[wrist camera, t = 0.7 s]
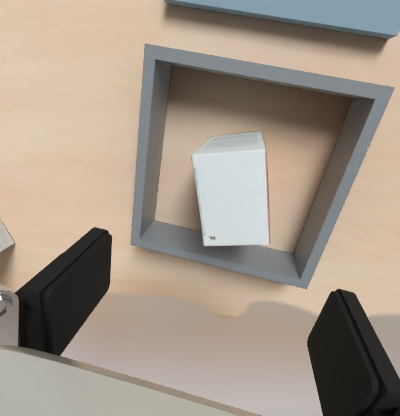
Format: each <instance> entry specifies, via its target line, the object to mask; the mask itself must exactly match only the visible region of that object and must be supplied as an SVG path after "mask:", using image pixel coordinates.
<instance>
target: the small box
mask: <svg viewBox="0 0 400 416" xmlns="http://www.w3.org/2000/svg"><path fill="white" fill-rule="evenodd" d="M191 160H192V165H193V170H194V176H195V182H196V189H197V196H198V203H199V210H200V218H201V226H202V236H203V245H204V246H233V245H269V244H270V225H269V191H268V170H267V151H266V146H265V143H264V140H263V136H262V132H261V131H256V132H245V133H236V134H227V135H218V136H211V137H210V138H209V139H208V140H207V141H206V142H205V143H204V144H202V145H201V146H200V147H199V148H198V149H197V150H196V151H195V152H194V153H193V154H192V155H191Z"/></svg>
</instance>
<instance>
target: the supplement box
mask: <svg viewBox="0 0 400 416" xmlns="http://www.w3.org/2000/svg"><path fill="white" fill-rule="evenodd" d="M13 244H14V241H13V239H12V238H11V236H10V234H9V233H8V231H7V230H6V228H5V226H4V225H3V223H2V221H1V220H0V252H1V251H3V250H5V249H6V248H8V247H9V246H11V245H13Z"/></svg>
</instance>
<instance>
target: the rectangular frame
mask: <svg viewBox="0 0 400 416" xmlns="http://www.w3.org/2000/svg"><path fill="white" fill-rule="evenodd" d="M171 65H173V66H179V67H184V68H190V69H195V70H201V71H206V72H212V73H217V74H223V75H228V76H234V77H239V78H245V79H250V80H256V81H261V82H267V83H272V84H278V85H283V86H289V87H294V88H300V89H305V90H311V91H316V92H321V93H327V94H332V95H338V96H343V97H349V98H353V100H352V103H351V105H350V108H349V111H348V113H347V116H346V119H345V121H344V124H343V126H342V129H341V132H340V134H339V137H338V139H337V142H336V145H335V147H334V150H333V153H332V155H331V158H330V160H329V163H328V166H327V168H326V171H325V173H324V176H323V179H322V181H321V184H320V187H319V189H318V192H317V194H316V197H315V200H314V202H313V205H312V207H311V210H310V213H309V215H308V218H307V221H306V223H305V226H304V228H303V231H302V234H301V236H300V239H299V241H298V244H297V247H296V249H295V252H294V254H292V253H287V252H283V251H279V250H275V249H271V248H267V247H262V246H258V245H233V246H204V245H203V236H202V232H200V231H196V230H192V229H188V228H184V227H180V226H175V225H171V224H167V223H163V222H159V221H155V220H154V219H155V210H156V201H157V192H158V183H159V174H160V165H161V156H162V146H163V137H164V128H165V119H166V110H167V101H168V92H169V83H170V74H171ZM393 90H394V87H389V86H383V85H377V84H372V83H366V82H360V81H355V80H349V79H343V78H338V77H332V76H326V75H321V74H315V73H309V72H304V71H298V70H292V69H287V68H281V67H275V66H270V65H264V64H258V63H252V62H247V61H241V60H235V59H230V58H224V57H218V56H213V55H207V54H201V53H196V52H190V51H184V50H179V49H173V48H167V47H162V46H156V45H150V44H145V49H144V63H143V77H142V91H141V105H140V119H139V133H138V148H137V162H136V176H135V190H134V204H133V218H132V232H131V245H133V246H137V247H141V248H145V249H149V250H153V251H157V252H161V253H165V254H169V255H173V256H177V257H181V258H185V259H189V260H193V261H197V262H201V263H205V264H209V265H213V266H217V267H220V268H224V269H228V270H232V271H236V272H240V273H244V274H248V275H252V276H256V277H260V278H264V279H268V280H272V281H276V282H280V283H284V284H288V285H292V286H296V287H300V288H304V289H307V287H308V285H309V283H310V281H311V278H312V276H313V274H314V271H315V269H316V267H317V265H318V262H319V260H320V258H321V255H322V253H323V251H324V249H325V246H326V244H327V242H328V239H329V237H330V235H331V232H332V230H333V228H334V226H335V223H336V221H337V219H338V216H339V214H340V212H341V210H342V207H343V205H344V203H345V200H346V198H347V196H348V194H349V191H350V189H351V187H352V184H353V182H354V180H355V178H356V175H357V173H358V171H359V168H360V166H361V164H362V161H363V159H364V157H365V155H366V152H367V150H368V148H369V145H370V143H371V141H372V139H373V136H374V134H375V132H376V129H377V127H378V125H379V123H380V120H381V118H382V116H383V113H384V111H385V109H386V106H387V104H388V102H389V100H390V97H391V95H392V93H393Z"/></svg>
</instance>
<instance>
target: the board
mask: <svg viewBox="0 0 400 416" xmlns="http://www.w3.org/2000/svg"><path fill="white" fill-rule="evenodd" d="M165 1H166V2H167V3H168V4H172V5H179V6H185V7H191V8H197V9H204V10H210V11H216V12H222V13H229V14H235V15H241V16H247V17H254V18H260V19H266V20H272V21H279V22H285V23H291V24H297V25H304V26H310V27H316V28H322V29H329V30H335V31H341V32H347V33H354V34H360V35H366V36H372V37H379V38H385V39H390V38H392V37H395V36H397V34H398V32H399V30H400V0H165Z"/></svg>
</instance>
